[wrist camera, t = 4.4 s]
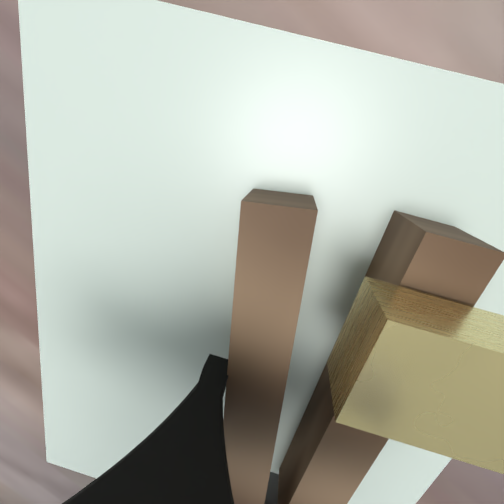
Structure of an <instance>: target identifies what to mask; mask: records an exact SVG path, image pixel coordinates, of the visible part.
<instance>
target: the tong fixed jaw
mask: <svg viewBox="0 0 504 504" xmlns="http://www.w3.org/2000/svg"><path fill="white" fill-rule="evenodd" d="M503 260H504V252H503V251H501V250H499V249H497V248H495V247H494V246H492V245H490V244H488V243H486V242H484V241H482V240H480V239H478V238H476V237H474V236H472V235H470V234H468V233H466V232H464V231H462V230H461V229H459V228H457V227H455V226H451V225H447V224H443V223H440V222H436V221H432V220H429V219H425V218H421V217H417V216H414V215H410V214H406V213H402V212H399V211H395V210H394V212H393V214H392V216H391V219H390V221H389V223H388V225H387V228H386V230H385V232H384V234H383V237H382V239H381V241H380V243H379V246H378V248H377V250H376V252H375V255H374V257H373V259H372V261H371V264H370V266H369V268H368V270H367V273H366V275H365V277H369V278H372V279H376V280H380V281H383V282H387V283H390V284H394V285H397V286H401V287H404V288H408V289H412V290H415V291H419V292H422V293H426V294H429V295H433V296H436V297H440V298H443V299H447V300H451V301H454V302H458V303H461V304H465V305H468V306H472V307H474V305H475V304H476V302H477V301H478V299H479V298H480V296H481V294H482V293H483V291H484V290H485V288H486V287H487V285H488V284H489V282H490V280H491V279H492V277H493V276H494V274H495V273H496V271H497V269H498V268H499V266H500V265H501V263H502V262H503ZM365 277H364V278H365ZM363 280H364V279H363ZM361 285H362V284H361ZM360 287H361V286H360ZM359 289H360V288H359ZM357 294H358V293H357ZM356 296H357V295H356ZM355 298H356V297H355ZM353 303H354V302H353ZM352 305H353V304H352ZM351 307H352V306H351ZM349 312H350V311H349ZM348 314H349V313H348ZM347 316H348V315H347ZM345 321H346V320H345ZM344 323H345V322H344ZM343 325H344V324H343ZM341 330H342V329H341ZM340 332H341V331H340ZM339 334H340V333H339ZM337 339H338V338H337ZM336 341H337V340H336ZM335 343H336V342H335ZM333 348H334V347H333ZM332 350H333V349H332ZM331 352H332V351H331ZM329 357H330V356H329ZM328 359H329V358H328ZM327 361H328V360H327ZM388 439H389V438H385V437H382V436H379V435H376V434H372V433H369V432H366V431H363V430H360V429H356V428H353V427H350V426H347V425H343V424H340V423H337V422H335V416H334V409H333V402H332V394H331V387H330V380H329V373H328V366H327V363H326V365H325V367H324V369H323V372H322V374H321V376H320V378H319V381H318V383H317V385H316V387H315V390H314V392H313V394H312V396H311V399H310V401H309V403H308V405H307V408H306V410H305V412H304V414H303V417H302V419H301V421H300V423H299V426H298V428H297V430H296V432H295V435H294V437H293V439H292V441H291V444H290V446H289V448H288V450H287V453H286V455H285V457H284V459H283V462H282V464H281V466H280V468H279V474H276V473H274V472H270V476H269V481H268V487H267V492H266V498H265V503H264V504H347V503H348V502H349V500H350V499H351V497H352V496H353V494H354V492H355V491H356V489H357V488H358V486H359V485H360V483H361V482H362V480H363V478H364V477H365V475H366V474H367V472H368V471H369V469H370V467H371V466H372V464H373V463H374V461H375V460H376V458H377V457H378V455H379V453H380V452H381V450H382V449H383V447H384V446H385V444H386V443H387V441H388Z"/></svg>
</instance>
